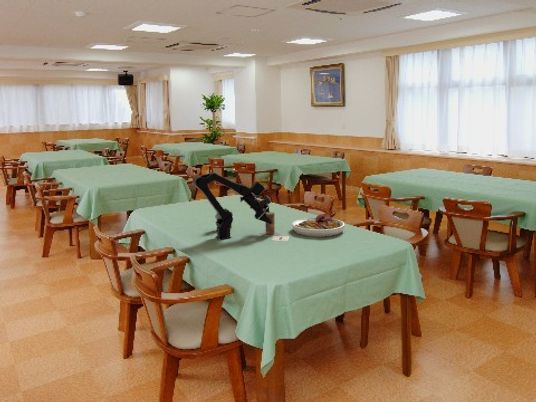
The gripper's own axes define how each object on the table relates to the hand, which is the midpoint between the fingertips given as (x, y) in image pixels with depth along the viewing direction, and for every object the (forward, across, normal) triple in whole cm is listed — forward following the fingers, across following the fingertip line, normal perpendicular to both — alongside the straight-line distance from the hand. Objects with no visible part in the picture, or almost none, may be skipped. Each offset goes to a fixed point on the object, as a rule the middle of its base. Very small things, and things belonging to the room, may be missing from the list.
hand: (272, 221), depth 277 cm
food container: (-17, +10, +28) cm, 34 cm away
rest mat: (+4, 0, +6) cm, 8 cm away
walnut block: (+4, 0, +6) cm, 7 cm away
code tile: (+9, -9, +2) cm, 13 cm away
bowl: (+24, +10, -12) cm, 28 cm away
